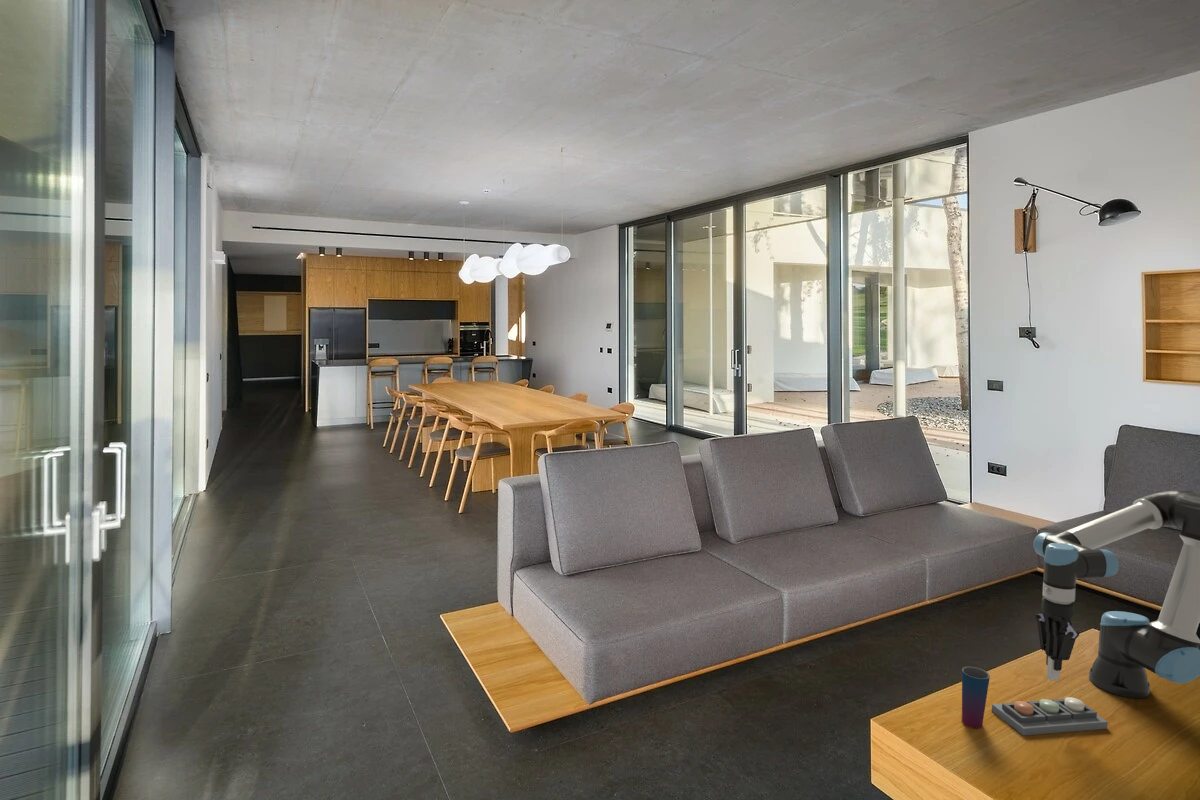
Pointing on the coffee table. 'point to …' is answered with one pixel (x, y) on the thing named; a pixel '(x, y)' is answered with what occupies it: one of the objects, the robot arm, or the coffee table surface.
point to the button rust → (1023, 708)
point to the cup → (974, 695)
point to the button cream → (1074, 704)
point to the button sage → (1049, 706)
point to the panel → (1049, 719)
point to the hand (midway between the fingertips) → (1052, 678)
